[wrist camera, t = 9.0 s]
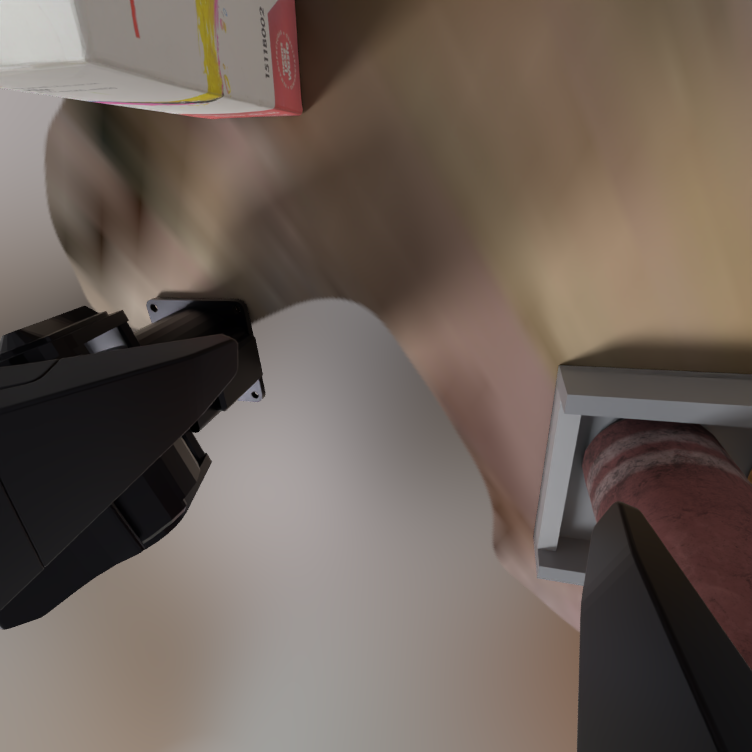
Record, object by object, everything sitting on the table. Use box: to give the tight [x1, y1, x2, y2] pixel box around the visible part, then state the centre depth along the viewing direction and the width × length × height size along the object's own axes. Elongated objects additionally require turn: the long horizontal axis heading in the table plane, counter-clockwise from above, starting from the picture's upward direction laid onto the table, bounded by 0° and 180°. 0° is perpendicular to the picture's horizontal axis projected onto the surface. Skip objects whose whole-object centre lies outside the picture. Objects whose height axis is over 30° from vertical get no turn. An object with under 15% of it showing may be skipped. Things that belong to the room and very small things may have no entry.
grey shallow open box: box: [533, 365, 752, 586], centre depth 20 cm, size 14×12×5 cm
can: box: [582, 418, 752, 670], centre depth 15 cm, size 6×6×14 cm
